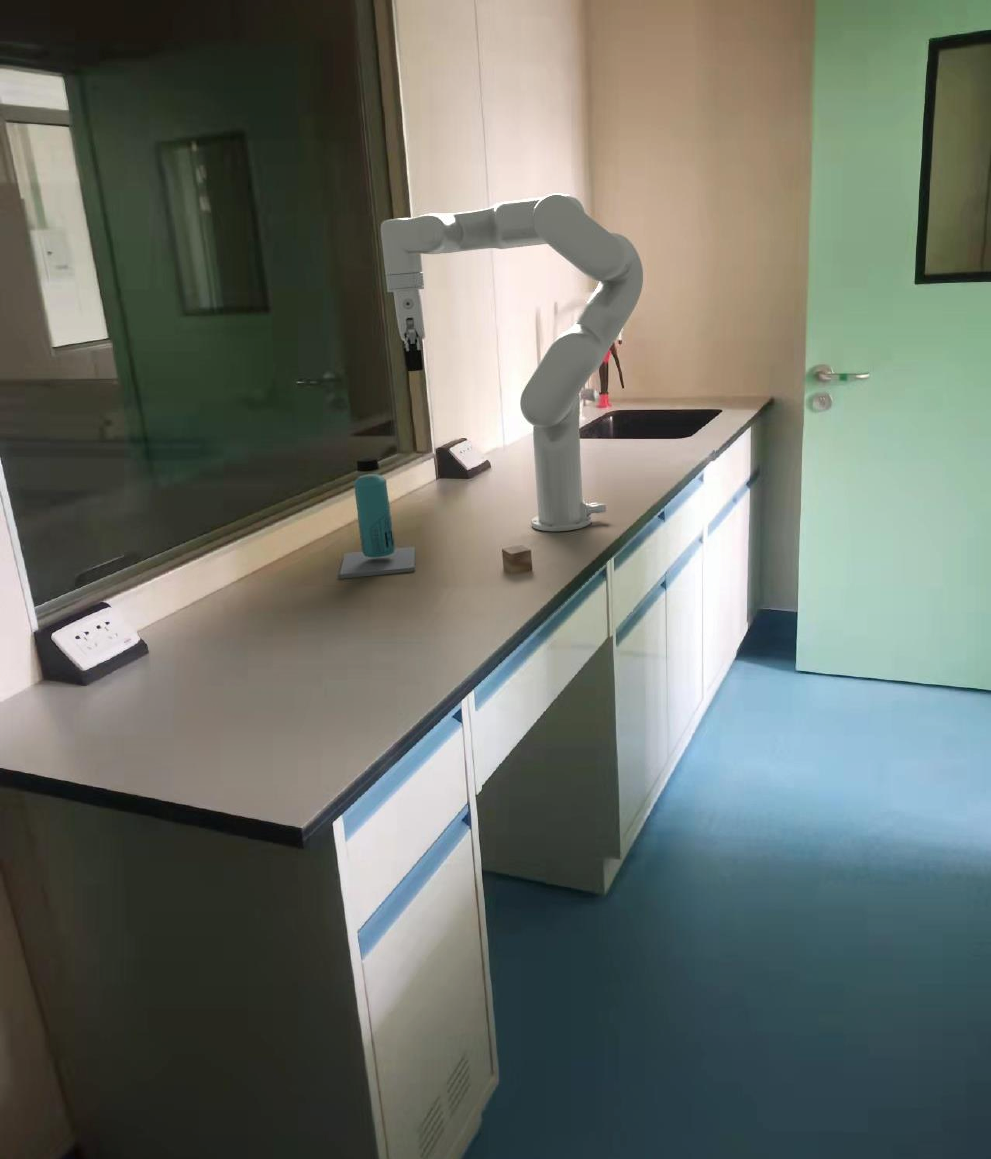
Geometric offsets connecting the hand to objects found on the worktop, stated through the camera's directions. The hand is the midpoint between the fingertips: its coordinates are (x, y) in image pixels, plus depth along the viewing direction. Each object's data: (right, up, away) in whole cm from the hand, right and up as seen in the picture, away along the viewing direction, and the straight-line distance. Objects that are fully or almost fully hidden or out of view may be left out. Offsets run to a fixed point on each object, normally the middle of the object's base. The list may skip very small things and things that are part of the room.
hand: (414, 368), depth 206 cm
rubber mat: (-6, -41, -14) cm, 44 cm away
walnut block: (+21, -42, -25) cm, 53 cm away
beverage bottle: (-6, -40, -15) cm, 43 cm away
